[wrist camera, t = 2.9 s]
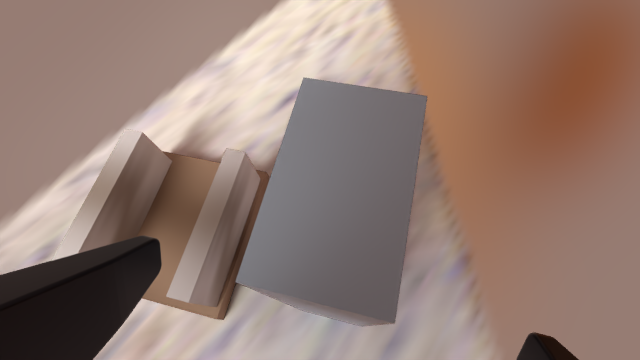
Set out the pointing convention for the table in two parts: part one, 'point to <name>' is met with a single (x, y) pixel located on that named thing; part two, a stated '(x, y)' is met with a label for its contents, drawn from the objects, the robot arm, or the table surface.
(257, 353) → the table surface
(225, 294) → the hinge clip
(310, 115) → the gray rectangular block
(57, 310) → the robot arm
